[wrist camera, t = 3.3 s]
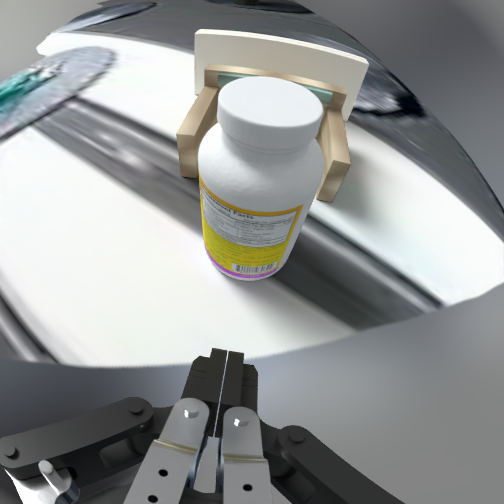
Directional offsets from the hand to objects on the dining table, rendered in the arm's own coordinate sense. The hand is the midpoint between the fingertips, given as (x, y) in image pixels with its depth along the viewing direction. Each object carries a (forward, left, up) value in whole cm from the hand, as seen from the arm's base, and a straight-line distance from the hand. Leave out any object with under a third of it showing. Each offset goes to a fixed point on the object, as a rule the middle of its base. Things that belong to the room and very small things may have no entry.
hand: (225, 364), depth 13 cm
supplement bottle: (0, +10, -6) cm, 11 cm away
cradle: (0, +21, -5) cm, 22 cm away
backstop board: (0, +32, -5) cm, 32 cm away
